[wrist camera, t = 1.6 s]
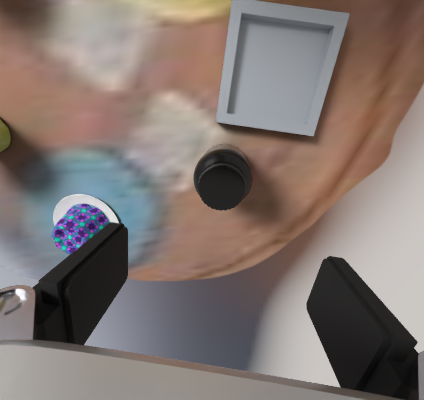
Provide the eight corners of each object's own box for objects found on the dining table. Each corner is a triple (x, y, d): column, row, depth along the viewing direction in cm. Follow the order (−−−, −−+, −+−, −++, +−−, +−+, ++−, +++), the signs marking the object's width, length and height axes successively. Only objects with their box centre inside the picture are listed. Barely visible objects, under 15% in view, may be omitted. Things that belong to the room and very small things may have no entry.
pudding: (42, 210, 36) (14, 223, 32) (94, 180, 34) (72, 190, 29) (85, 261, 40) (65, 281, 35) (135, 238, 37) (122, 256, 32)
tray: (231, 6, 25) (232, -3, 23) (340, 21, 24) (350, 13, 23) (216, 122, 29) (215, 122, 27) (307, 135, 29) (313, 136, 27)
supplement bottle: (255, 156, 31) (272, 174, 19) (233, 194, 33) (236, 231, 22) (213, 134, 30) (206, 140, 19) (194, 175, 32) (176, 203, 21)
